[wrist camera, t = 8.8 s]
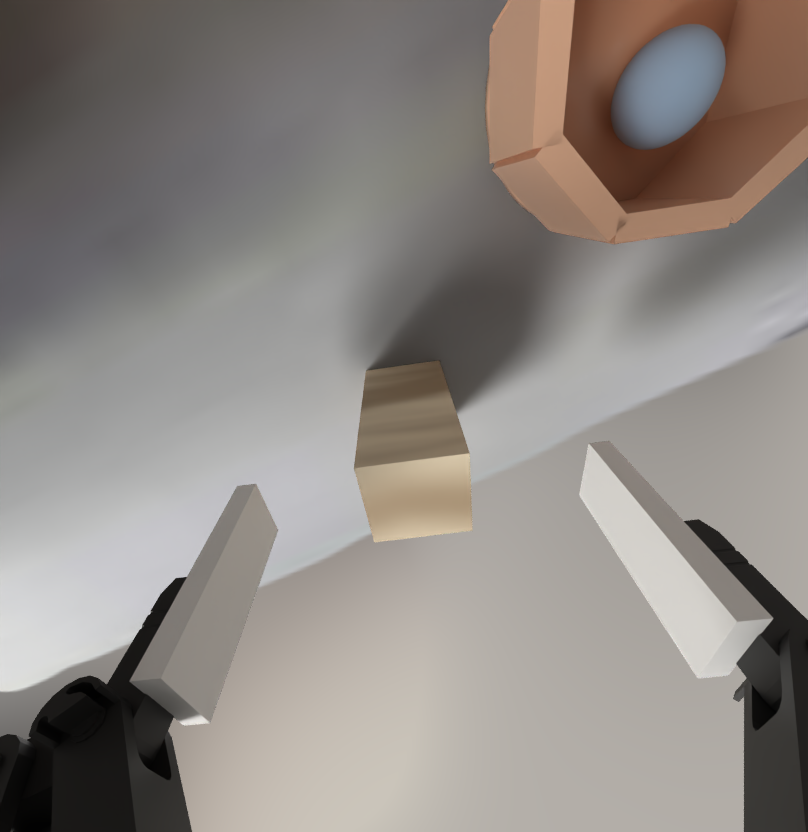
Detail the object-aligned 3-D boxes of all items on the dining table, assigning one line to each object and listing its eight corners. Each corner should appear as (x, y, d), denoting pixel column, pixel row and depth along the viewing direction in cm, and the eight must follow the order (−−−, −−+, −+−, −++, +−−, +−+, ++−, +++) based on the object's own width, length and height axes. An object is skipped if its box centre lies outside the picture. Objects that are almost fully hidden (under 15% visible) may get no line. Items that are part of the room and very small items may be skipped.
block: (365, 370, 19) (353, 468, 12) (439, 360, 18) (469, 453, 12) (378, 430, 21) (374, 542, 14) (444, 422, 21) (472, 530, 14)
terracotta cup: (483, -79, 11) (556, -290, 6) (779, -134, 10) (1094, -401, 6) (484, 239, 16) (526, 257, 11) (687, 209, 15) (819, 213, 11)
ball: (621, 20, 10) (725, 37, 9) (672, 13, 11) (771, 27, 10) (578, 144, 13) (654, 170, 11) (623, 128, 14) (698, 151, 12)
